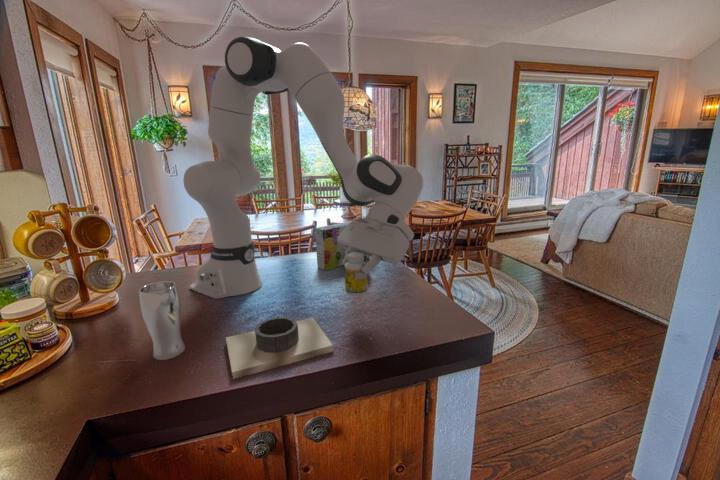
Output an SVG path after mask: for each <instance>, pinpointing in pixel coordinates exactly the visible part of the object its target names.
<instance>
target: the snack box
mask: <svg viewBox="0 0 720 480" xmlns="http://www.w3.org/2000/svg"><path fill="white" fill-rule="evenodd" d="M352 221H353V220H350V221H345V222H344V221H343V222H340V223H335V224H330V225H323V226H318V227H315V228H314V238H315V249H316V251H315V252H316V261H317V262H316V263H317V265H316V266H317V268H318V267H319V268H318V269H320V268H321V270H323V271H324V272H325V271H326V270H327V271H330V270H332V268H333V269H336V267H337V268H339V266H340V267H344V266H343V264H342V261H343V259H344V258H345V250H346V249H344V248H343V247H341V246H340V245H339V244H338V243H337V238H338V236H339V235H340V234H341V232H342V231H343V230H344V229H345V227H346V226H347V225H348V224H349V223H350V222H352ZM367 258H368V259H371V258H370V257H369V256H367ZM329 269H330V270H329Z"/></svg>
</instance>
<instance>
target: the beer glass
mask: <svg viewBox="0 0 720 480" xmlns="http://www.w3.org/2000/svg"><path fill="white" fill-rule="evenodd" d="M138 295H139V297H138V298H139V306H140V311H141V316H142V319H143V321H144V323H145V326H146V328H147V330H148V332H149V336H151V337H150V338H151V340H152V344H153V345H152V346H153V347H152V348H153V350H152V357H153V359H155V360H157V361H166V360H171V359H173V358H176V357H178V356H180V355H181V354H183V353H184V351H185V350H186V345H185V343H184V341H183V339H182V334H181V318H182V317H181V312H182V311H181V303H180V302H181V301H180V296H179V294H178V289H177V286H176V282H174V281H169V280H164V281H163V280H162V281H156V282H155V281H154V282H151V283H148V284H145V285H143V286H141V287H140V288H139V289H138Z"/></svg>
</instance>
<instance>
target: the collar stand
mask: <svg viewBox="0 0 720 480" xmlns="http://www.w3.org/2000/svg"><path fill="white" fill-rule="evenodd" d="M225 341H226V342H225V343H226V347H227V353H228V359H229V365H230V370H231V377H232V376H233V377H232V380H235V378H236V379H239V377H240V378H243V376H244V377H247V376H250V375H253V374H258V373H261V372H264V371H268V370H272V369H275V368H279V367H283V366H287V365H290V364H294V363H297V362H300V361H304V360H307V359H312V358H316V357H318V356H322V355H326V354H329V353H333V352H334V345H333V343H332V342H331V341H330V339H329V337H327V335H326V334H325V332H324V331H323V330H322V328H321V327H320V326H319V324H318V323H317V321H316V320H315V319H314V318H313V317H309V318H304V319H300V320H296V319H294V318H291V317H290V316H289V317H287V316H276V317H270V318H266V319H265V320H263V321H261V322H259V323H258V324H257V325H256V326H255V328H254V330H253V331H248V332H244V333H240V334H236V335H230V336H226V337H225ZM246 375H247V376H246Z"/></svg>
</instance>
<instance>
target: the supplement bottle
mask: <svg viewBox="0 0 720 480" xmlns="http://www.w3.org/2000/svg"><path fill="white" fill-rule="evenodd" d="M347 260H348V262H347V263H346V264H345V266H344V284H345V288H344V289H345V292H346V294H347V295H349V296H353V297H358V296H364V295H366V294H367V293H368V274H365V273H362V271H360V268H361V267H362V265H363V263H364V264H366V263H365V262H364V254H363V253H360V252H352V253H349V254H347Z"/></svg>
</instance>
